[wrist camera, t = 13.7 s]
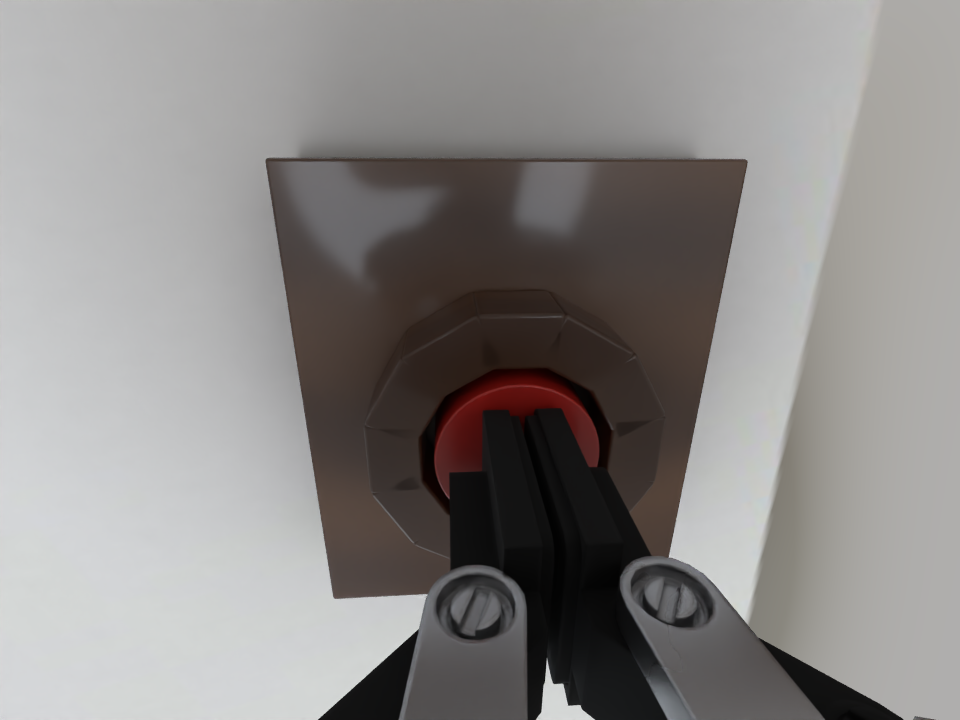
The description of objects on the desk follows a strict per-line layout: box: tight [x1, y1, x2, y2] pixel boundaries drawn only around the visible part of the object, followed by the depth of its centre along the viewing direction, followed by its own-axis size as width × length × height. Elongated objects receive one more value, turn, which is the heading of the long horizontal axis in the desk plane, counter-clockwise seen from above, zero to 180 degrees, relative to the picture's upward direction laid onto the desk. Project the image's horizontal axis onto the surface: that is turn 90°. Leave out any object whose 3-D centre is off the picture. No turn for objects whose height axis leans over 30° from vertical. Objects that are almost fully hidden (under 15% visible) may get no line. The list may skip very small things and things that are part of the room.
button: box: [434, 368, 599, 499], centre depth 11 cm, size 4×4×2 cm
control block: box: [266, 158, 748, 599], centre depth 12 cm, size 12×10×4 cm
